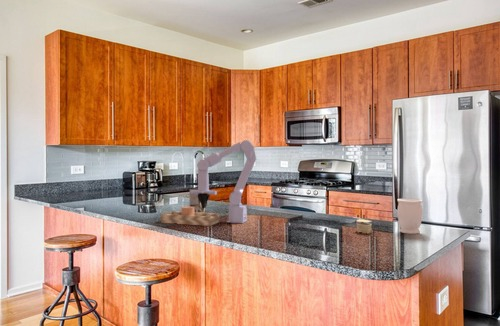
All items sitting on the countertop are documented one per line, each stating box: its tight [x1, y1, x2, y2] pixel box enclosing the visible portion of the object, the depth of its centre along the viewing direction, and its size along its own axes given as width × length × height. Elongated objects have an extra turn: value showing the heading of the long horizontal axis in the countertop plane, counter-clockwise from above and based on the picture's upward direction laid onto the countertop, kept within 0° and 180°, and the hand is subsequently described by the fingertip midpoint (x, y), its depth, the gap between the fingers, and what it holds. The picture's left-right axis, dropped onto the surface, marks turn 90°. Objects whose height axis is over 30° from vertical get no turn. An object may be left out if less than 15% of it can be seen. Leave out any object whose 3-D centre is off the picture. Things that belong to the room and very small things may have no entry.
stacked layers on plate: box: [355, 218, 373, 235], centre depth 171 cm, size 10×9×6 cm
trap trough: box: [160, 210, 220, 227], centre depth 198 cm, size 29×11×4 cm, turn 71°
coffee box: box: [189, 187, 206, 213], centre depth 218 cm, size 9×6×16 cm
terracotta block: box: [180, 205, 195, 216], centre depth 199 cm, size 5×5×5 cm
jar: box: [396, 197, 423, 235], centre depth 170 cm, size 11×10×15 cm
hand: (203, 207), depth 198 cm, fingers closed
